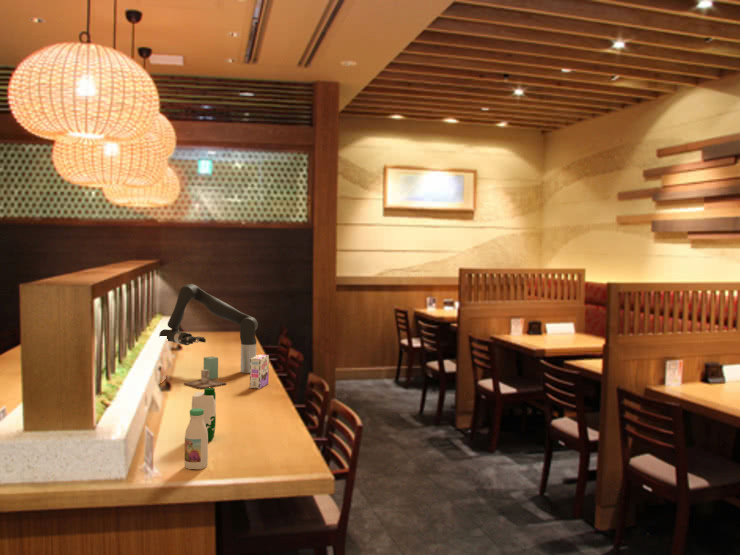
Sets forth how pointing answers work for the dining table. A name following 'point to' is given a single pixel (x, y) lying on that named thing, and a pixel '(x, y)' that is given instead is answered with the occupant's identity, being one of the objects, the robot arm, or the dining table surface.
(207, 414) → the white green-capped container
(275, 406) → the dining table surface
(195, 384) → the walnut base
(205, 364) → the teal cap
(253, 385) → the candy box
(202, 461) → the milk bottle
